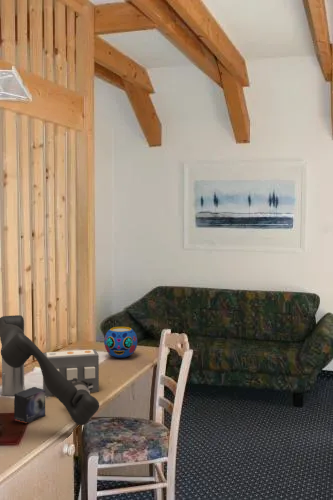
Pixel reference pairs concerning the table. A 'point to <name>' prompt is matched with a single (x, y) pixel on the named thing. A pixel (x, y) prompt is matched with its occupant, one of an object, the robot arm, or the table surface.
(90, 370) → the right button
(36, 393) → the small box
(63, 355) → the control panel
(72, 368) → the middle button
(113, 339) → the ceramic pot
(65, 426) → the table surface
